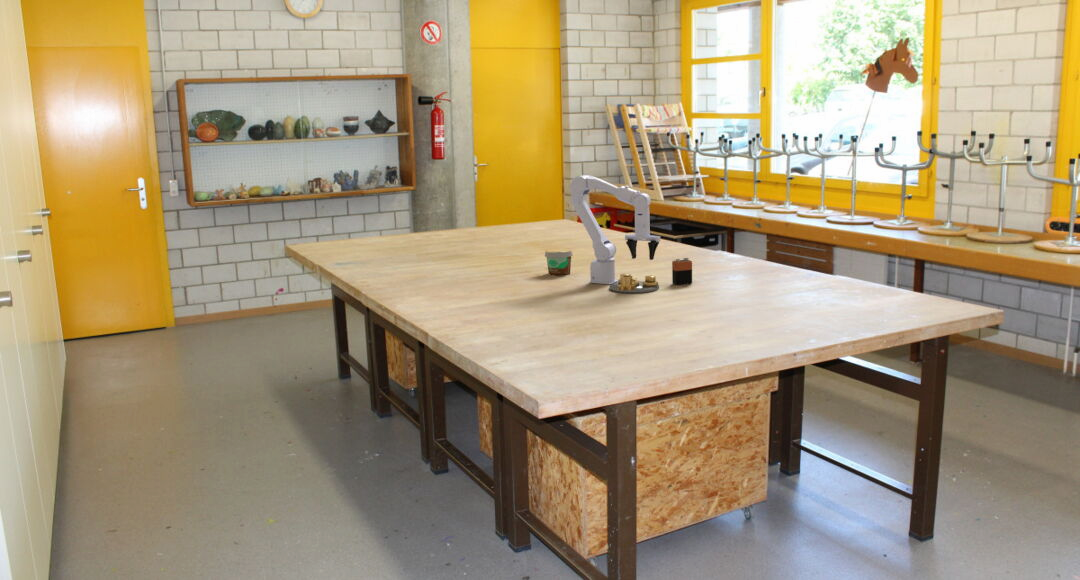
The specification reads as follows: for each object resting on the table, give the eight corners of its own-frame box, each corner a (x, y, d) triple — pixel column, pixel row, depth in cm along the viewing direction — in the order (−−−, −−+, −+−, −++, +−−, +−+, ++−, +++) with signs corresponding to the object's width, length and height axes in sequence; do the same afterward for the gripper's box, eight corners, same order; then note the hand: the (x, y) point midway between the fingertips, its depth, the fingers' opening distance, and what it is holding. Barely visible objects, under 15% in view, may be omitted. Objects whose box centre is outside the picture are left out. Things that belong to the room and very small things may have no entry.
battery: (692, 284, 348) (692, 258, 346) (676, 285, 347) (676, 260, 345) (688, 282, 353) (687, 257, 351) (671, 283, 351) (671, 258, 349)
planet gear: (614, 290, 338) (614, 277, 337) (622, 286, 343) (622, 274, 342) (630, 291, 334) (630, 278, 333) (638, 288, 340) (638, 275, 339)
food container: (540, 275, 377) (540, 252, 375) (546, 273, 383) (545, 250, 381) (568, 276, 373) (567, 253, 371) (573, 274, 378) (572, 250, 376)
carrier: (600, 291, 342) (600, 279, 341) (624, 282, 357) (623, 271, 356) (645, 295, 331) (645, 283, 330) (667, 285, 347) (667, 274, 346)
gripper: (620, 225, 348) (621, 259, 351) (654, 226, 341) (655, 261, 343) (629, 222, 354) (629, 256, 357) (662, 224, 346) (663, 258, 349)
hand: (642, 259), depth 350 cm, fingers open, 7 cm apart
